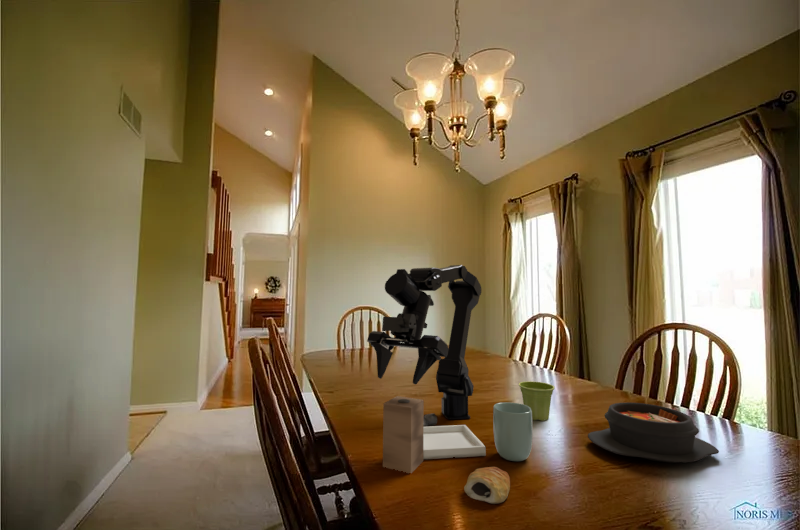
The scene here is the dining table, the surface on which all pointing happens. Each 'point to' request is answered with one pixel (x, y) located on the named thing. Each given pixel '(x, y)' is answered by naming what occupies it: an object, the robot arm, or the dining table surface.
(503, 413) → the cup
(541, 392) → the plant pot
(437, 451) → the tray
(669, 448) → the casserole
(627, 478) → the dining table surface
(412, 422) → the block
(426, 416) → the flashlight
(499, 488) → the pastry
